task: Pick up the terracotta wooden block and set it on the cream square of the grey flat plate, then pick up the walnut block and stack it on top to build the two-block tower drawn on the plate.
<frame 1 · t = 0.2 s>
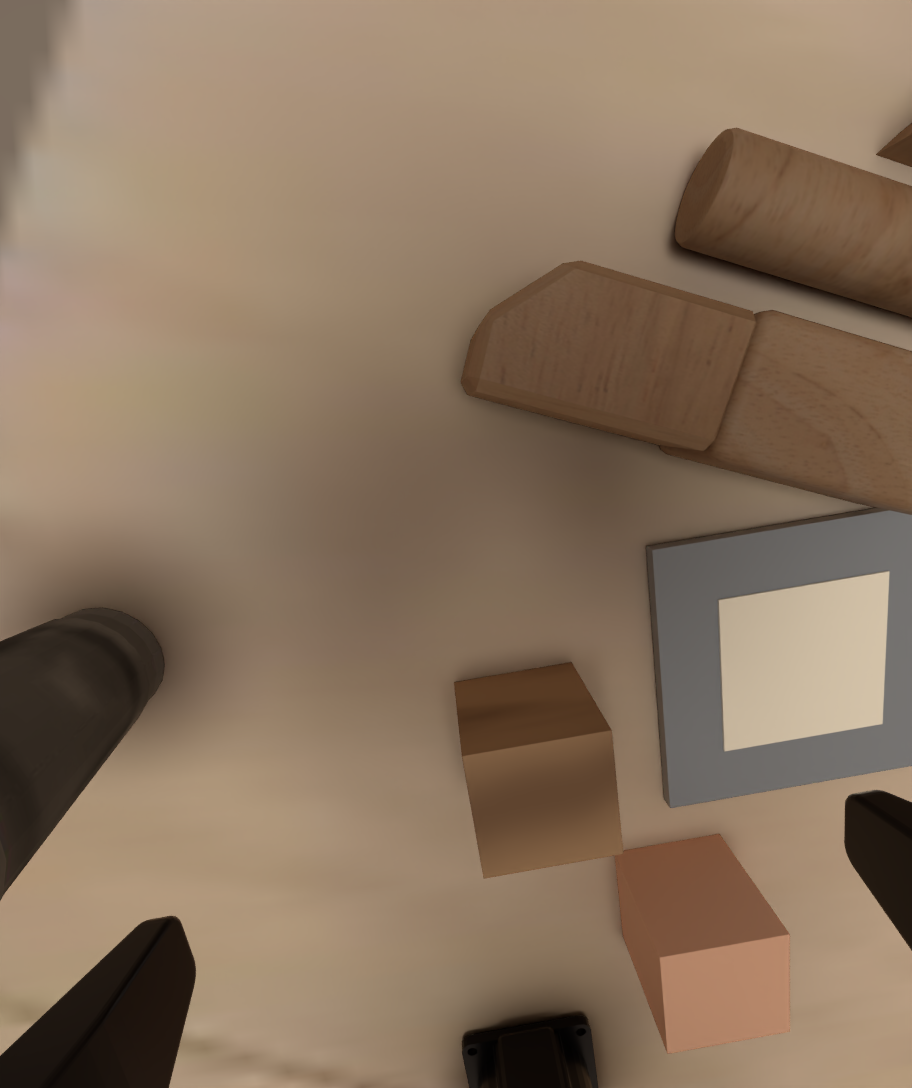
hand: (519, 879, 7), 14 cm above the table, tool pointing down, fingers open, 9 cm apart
terracotta block: (669, 884, 25), on the table
beverage cup: (108, 658, 21), on the table
wooden block set: (751, 228, 19), on the table
walnut block: (520, 723, 23), on the table
grey flat plate: (838, 649, 23), on the table
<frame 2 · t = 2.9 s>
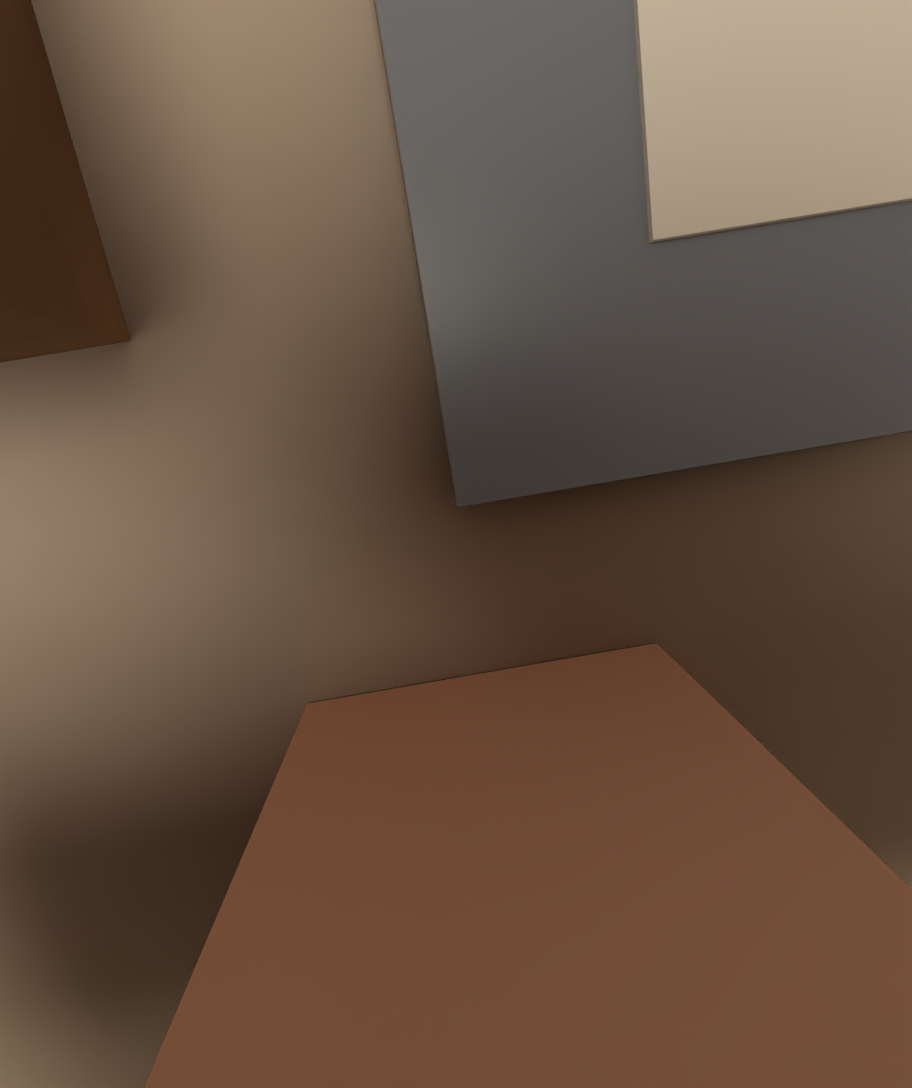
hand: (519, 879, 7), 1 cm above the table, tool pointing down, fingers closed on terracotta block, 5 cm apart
terracotta block: (507, 821, 8), on the table, touching gripper
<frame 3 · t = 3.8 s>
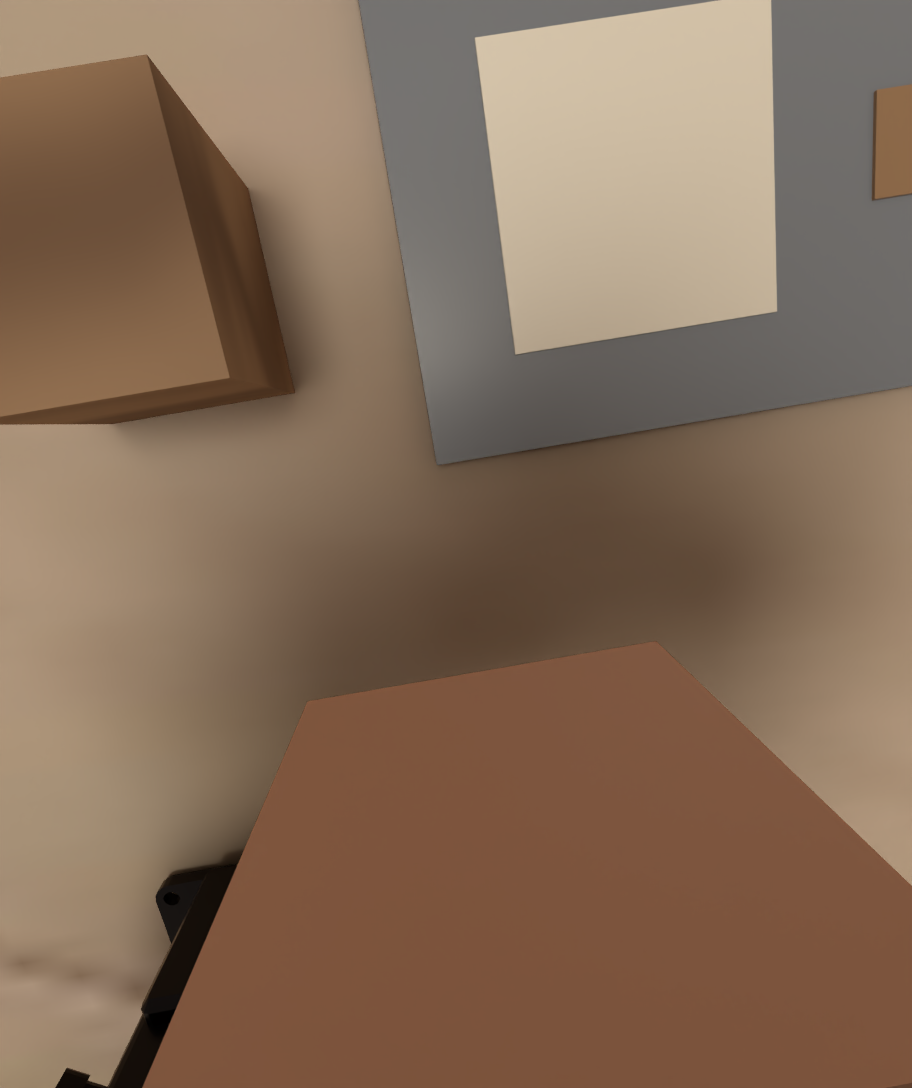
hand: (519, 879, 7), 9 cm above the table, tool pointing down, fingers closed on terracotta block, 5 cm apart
terracotta block: (506, 819, 8), point 8 cm above the table, touching gripper
walnut block: (178, 311, 14), on the table
grey flat plate: (700, 183, 14), on the table
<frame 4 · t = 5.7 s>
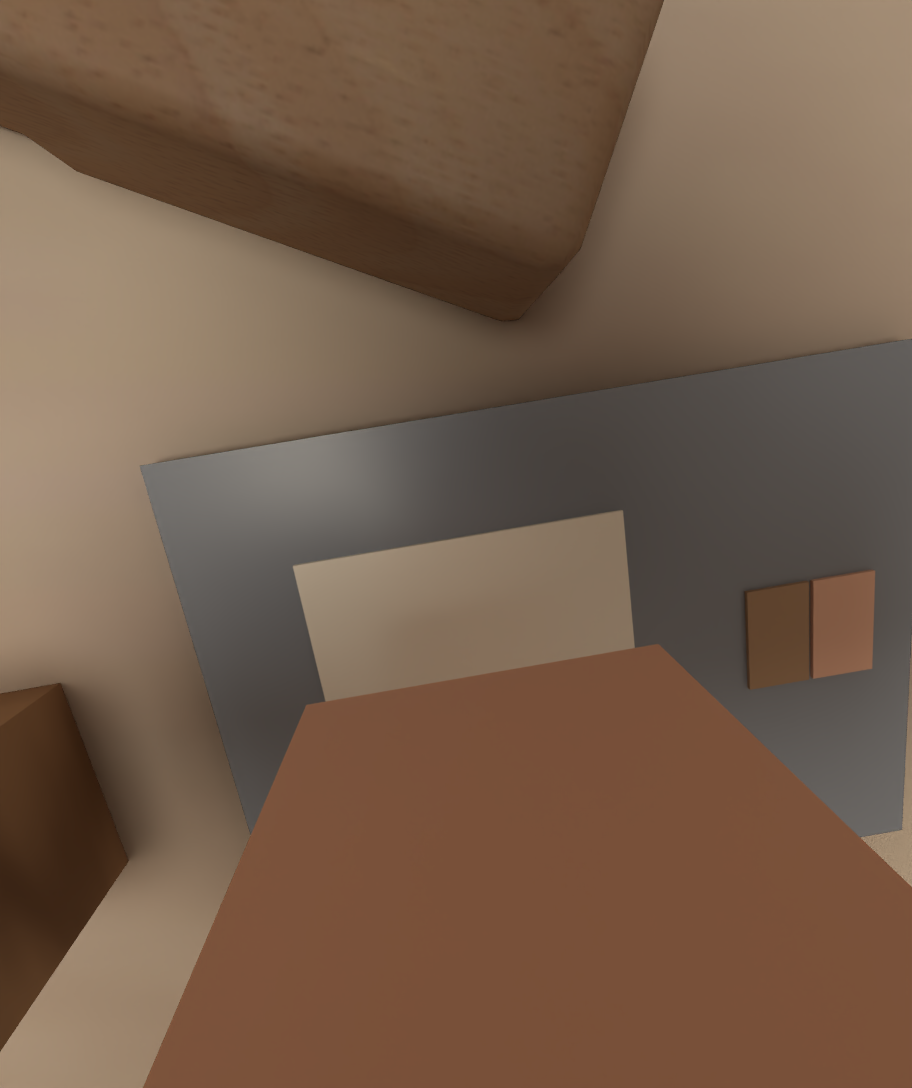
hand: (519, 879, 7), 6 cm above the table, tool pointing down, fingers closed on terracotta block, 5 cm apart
terracotta block: (507, 823, 8), point 5 cm above the table, touching gripper
grey flat plate: (562, 659, 13), on the table
when the fingers open (3 cm above the table, at t = 6.6 s): terracotta block drops 1 cm, resting on grey flat plate.
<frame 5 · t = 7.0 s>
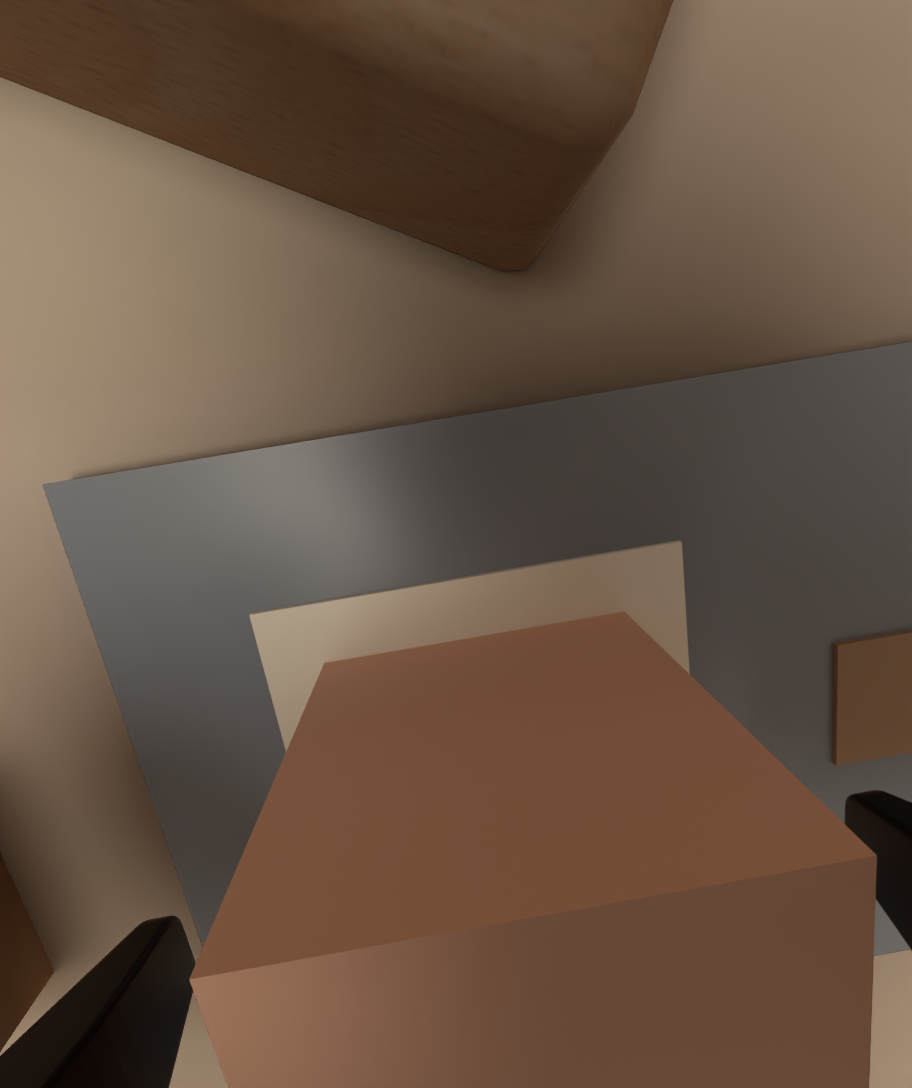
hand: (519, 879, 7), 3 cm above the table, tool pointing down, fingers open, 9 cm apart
terracotta block: (496, 768, 9), point 1 cm above the table, touching grey flat plate
grey flat plate: (597, 724, 10), on the table
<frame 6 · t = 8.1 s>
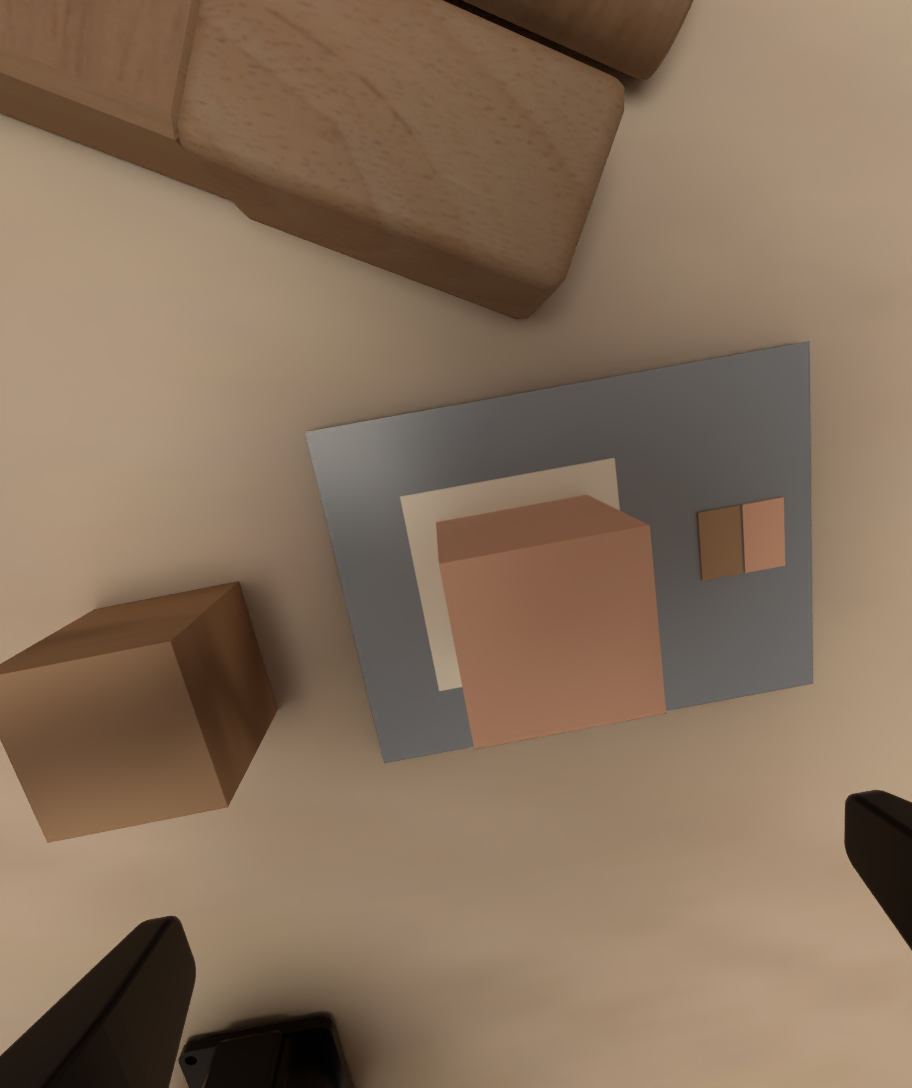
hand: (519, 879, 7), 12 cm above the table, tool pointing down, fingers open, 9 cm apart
terracotta block: (522, 580, 18), point 1 cm above the table, touching grey flat plate
walnut block: (189, 660, 19), on the table
grey flat plate: (575, 563, 18), on the table
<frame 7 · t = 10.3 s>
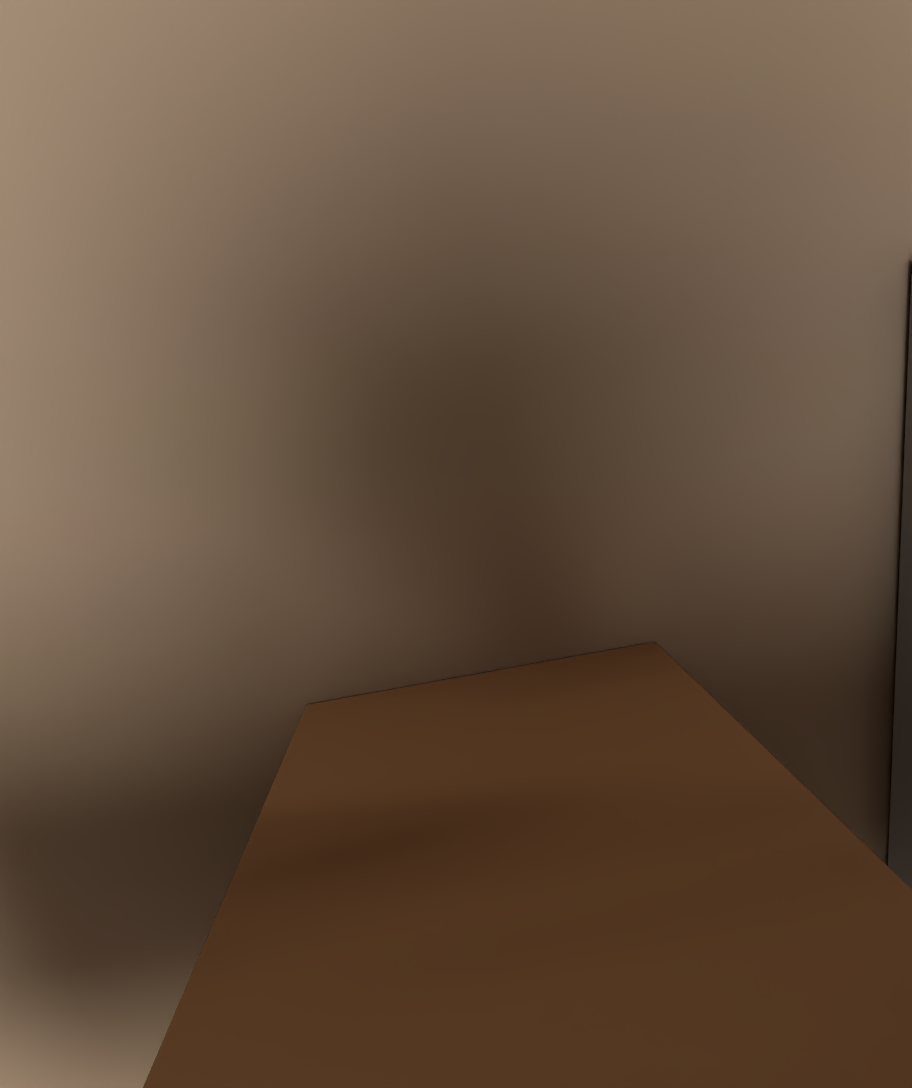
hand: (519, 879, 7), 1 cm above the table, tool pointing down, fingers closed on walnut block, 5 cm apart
walnut block: (507, 821, 8), on the table, touching gripper
when the fingers open (8 cm above the table, at t = 13.4 s): walnut block drops 1 cm, resting on terracotta block.
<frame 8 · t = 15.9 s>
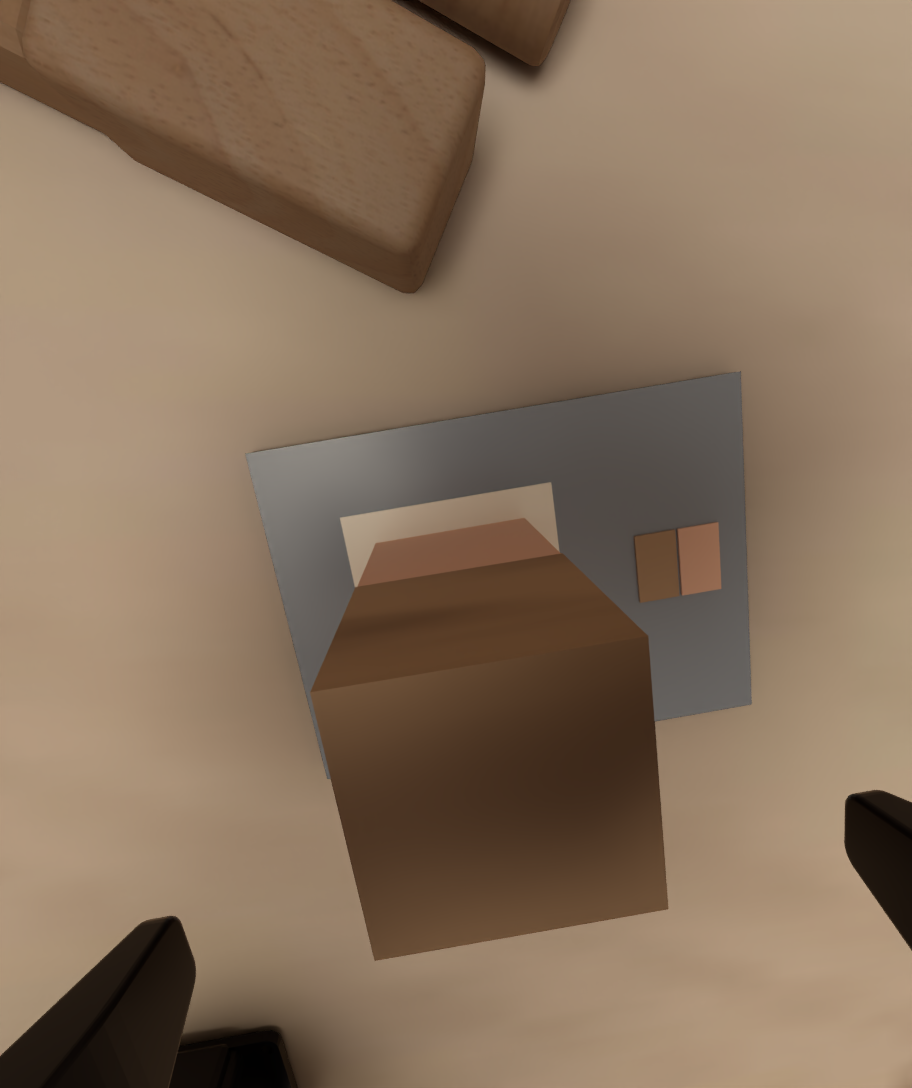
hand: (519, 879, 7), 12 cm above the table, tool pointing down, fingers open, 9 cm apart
terracotta block: (462, 601, 18), point 1 cm above the table, touching grey flat plate, walnut block
walnut block: (474, 665, 13), point 6 cm above the table, touching terracotta block
grey flat plate: (516, 584, 19), on the table
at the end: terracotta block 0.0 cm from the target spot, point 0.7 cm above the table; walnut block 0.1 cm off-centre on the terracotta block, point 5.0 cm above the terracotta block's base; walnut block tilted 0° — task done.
